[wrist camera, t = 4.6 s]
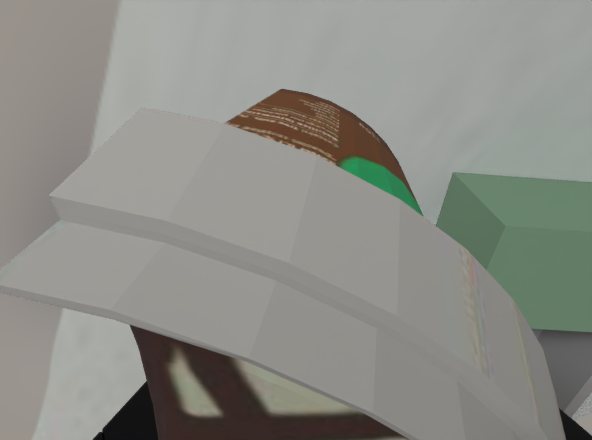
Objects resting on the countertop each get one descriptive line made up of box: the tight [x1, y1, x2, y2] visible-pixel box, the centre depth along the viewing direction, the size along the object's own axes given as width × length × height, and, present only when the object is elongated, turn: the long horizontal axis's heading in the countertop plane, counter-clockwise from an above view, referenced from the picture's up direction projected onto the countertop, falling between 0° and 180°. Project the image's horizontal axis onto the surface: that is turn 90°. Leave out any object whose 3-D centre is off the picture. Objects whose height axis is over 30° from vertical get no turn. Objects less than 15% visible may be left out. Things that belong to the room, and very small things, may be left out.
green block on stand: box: [436, 173, 592, 418], centre depth 23 cm, size 12×21×6 cm, turn 176°
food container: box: [0, 89, 566, 440], centre depth 9 cm, size 12×6×10 cm, turn 176°
